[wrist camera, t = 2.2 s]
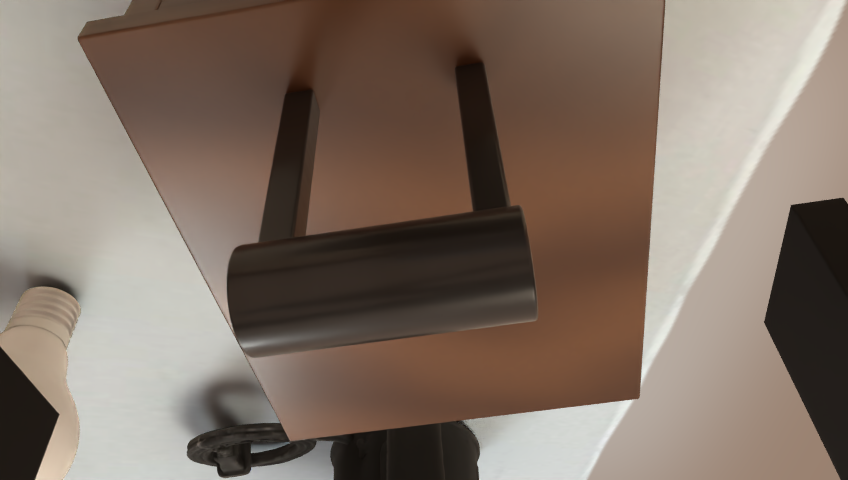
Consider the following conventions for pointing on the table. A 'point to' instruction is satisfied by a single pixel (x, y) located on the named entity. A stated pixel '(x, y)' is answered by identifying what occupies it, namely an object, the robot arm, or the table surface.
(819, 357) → the robot arm
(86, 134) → the table surface
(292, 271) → the lid
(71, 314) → the lightbulb
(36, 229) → the table surface
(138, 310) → the table surface
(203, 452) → the milk frother
